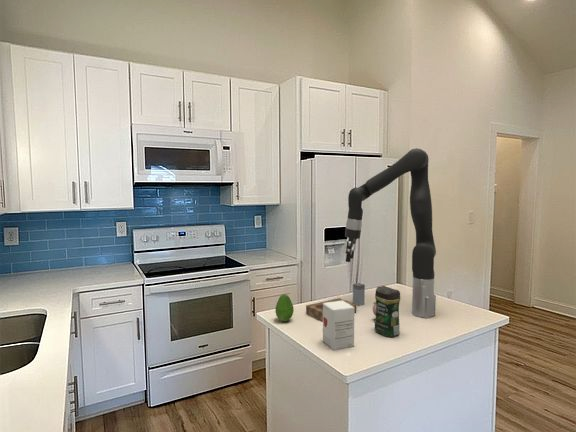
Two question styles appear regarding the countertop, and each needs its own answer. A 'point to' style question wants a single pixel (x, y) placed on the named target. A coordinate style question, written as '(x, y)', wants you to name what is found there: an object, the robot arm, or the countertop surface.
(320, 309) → the socket block
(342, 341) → the supplement box
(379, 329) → the coffee jar
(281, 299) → the avocado
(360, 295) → the plug
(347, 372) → the countertop surface
